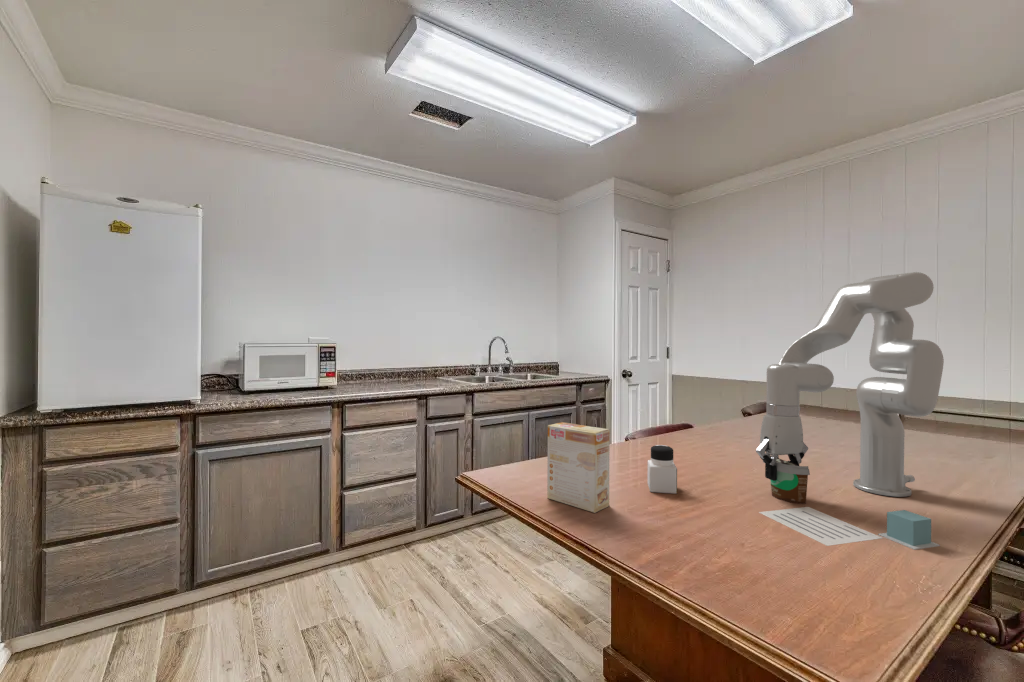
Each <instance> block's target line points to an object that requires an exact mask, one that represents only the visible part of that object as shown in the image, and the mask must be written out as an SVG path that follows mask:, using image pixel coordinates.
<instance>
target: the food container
mask: <svg viewBox="0 0 1024 682" xmlns="http://www.w3.org/2000/svg"><path fill="white" fill-rule="evenodd" d="M771 457H772V455H770V459H771ZM779 457H780V455H778V457H777V460H776V462H775V465H776V466H777V480H776V481H773V480H770V479H769V480H770V482H769V483H770V488H771V489H770V491H771V496H772V497H773V498H775V499H777V500H779V501H783V502H787V503H793V504H800V505H801V504H802V505H805V504H807V493H808V480H809V479H808V478H809V477H808V476H810V475H811V474H810V473H811V472H810V468H809V465H799V466H798V465H796V464H795V463H793V462H789V461H790V460H785V459H781V458H779Z"/></svg>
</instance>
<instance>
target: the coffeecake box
mask: <svg viewBox="0 0 1024 682" xmlns="http://www.w3.org/2000/svg"><path fill="white" fill-rule="evenodd" d="M610 434H611V433H610V429H609V428H604V427H598V426H597V427H595V426H589V425H583V424H577V423H569V422H556V423H553V424H552V423H551V424H548V425H547V480H546V481H547V482H546V483H547V486H546V487H547V495H546V496H547V499H549V500H552V501H555V502H559V503H562V504H566V505H569V506H571V507H575V508H578V509H581V510H584V511H588V512H591V513H594V514H596V513H597V512H600V511H601V510H603V509H606V508H608V507H610V448H611V447H610V443H611V441H610Z"/></svg>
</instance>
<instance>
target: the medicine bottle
mask: <svg viewBox="0 0 1024 682" xmlns="http://www.w3.org/2000/svg"><path fill="white" fill-rule="evenodd" d="M647 486H648V489H649V492H650V493H658V494H659V493H661V494H674V495H677V494H678V467H677V465H676V463H674V448H673V447H671V446H668V445H663V444H655V445H652V446H651V447H650V459H648V460H647Z"/></svg>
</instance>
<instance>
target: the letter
mask: <svg viewBox="0 0 1024 682" xmlns="http://www.w3.org/2000/svg"><path fill="white" fill-rule="evenodd" d="M758 513H759V514H761V515H763V516H765V517H767V518H769V519H771V520H774V521H775V522H777V523H780V524H782V525H783V526H786V527H788V529H789V528H790V529H791V530H794V531H796V532H798V533H799V534H802V535H804V536H806V537H809V538H810V539H812V540H814V541H816V542H818V543H820V544H822V545H824V546H826V547H827V546H835V545H843V544H849V543H850V544H851V543H860V542H864V541H873V540H874V541H875V540H880V539H883V537H882V536H879V535H878V534H874V533H872V532H870V531H868V530H865V529H863V528H861V527H858V526H855V525H853V524H851V523H849V522H846V521H843V520H842V519H839V518H836V517H834V516H831V515H829V514H827V513H825V512H822V511H819V510H818V509H815V508H812V507H810V506H805V507H804V506H803V507H795V508H786V509H785V508H784V509H776V510H768V511H767V510H766V511H765V510H764V511H758Z"/></svg>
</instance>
